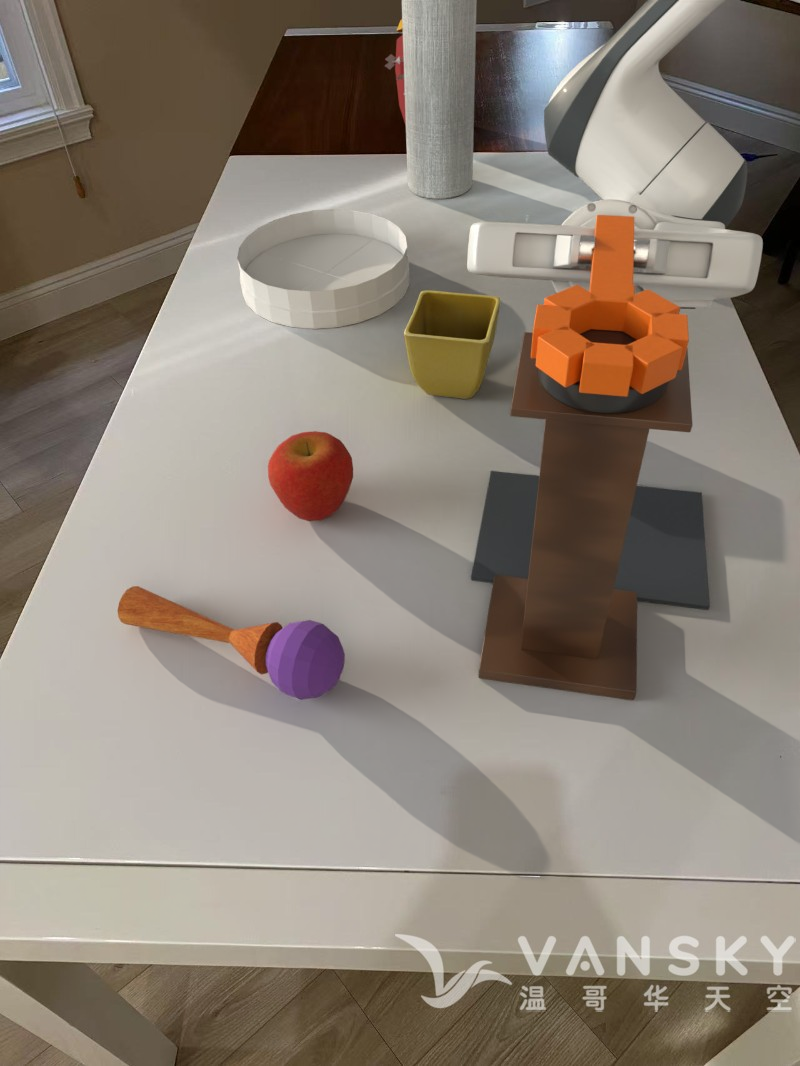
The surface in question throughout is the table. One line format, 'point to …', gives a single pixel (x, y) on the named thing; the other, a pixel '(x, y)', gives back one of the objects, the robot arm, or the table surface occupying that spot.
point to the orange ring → (610, 324)
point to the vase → (439, 95)
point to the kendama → (251, 642)
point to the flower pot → (451, 341)
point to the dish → (324, 268)
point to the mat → (648, 551)
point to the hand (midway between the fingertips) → (614, 251)
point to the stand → (578, 534)
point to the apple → (311, 474)
